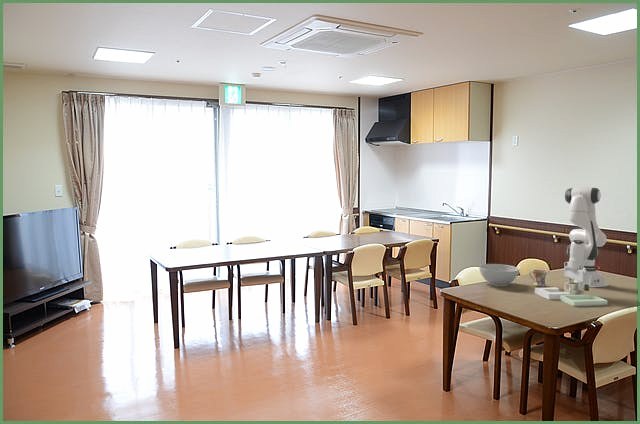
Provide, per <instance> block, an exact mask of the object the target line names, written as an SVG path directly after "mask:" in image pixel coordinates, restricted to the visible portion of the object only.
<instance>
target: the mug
mask: <svg viewBox="0 0 640 424" xmlns="http://www.w3.org/2000/svg"><path fill="white" fill-rule="evenodd" d="M531 273H532V274H533V276H534V278H533V276H532V275H531ZM547 274H548V271H547V270H544V269H533V270H532V271H529V277H530V278H531V279H532V280H533V282H532V286H534V287H536V288H546V286H547V284H546V276H547Z"/></svg>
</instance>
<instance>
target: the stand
mask: <svg viewBox="0 0 640 424" xmlns="http://www.w3.org/2000/svg"><path fill="white" fill-rule="evenodd" d="M534 294H535V295H538V296H539V297H542V298H544V299H546V300H548V301H549V300H550V301H551V300H560V296H561V295H571V293H568V292H564V291H560V288H558V287H554V286H552V287H534Z"/></svg>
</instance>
